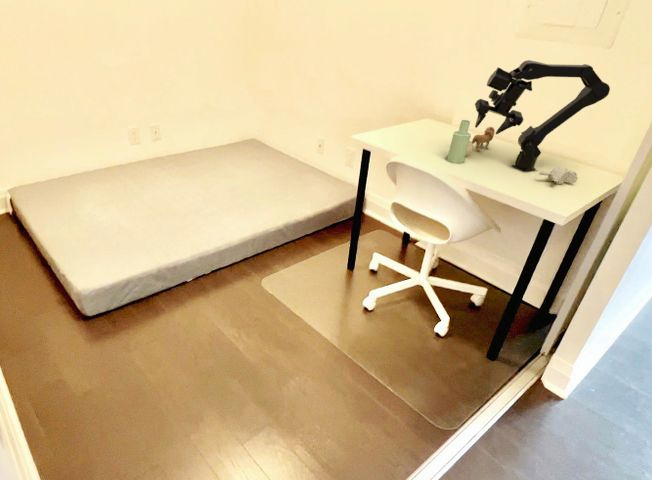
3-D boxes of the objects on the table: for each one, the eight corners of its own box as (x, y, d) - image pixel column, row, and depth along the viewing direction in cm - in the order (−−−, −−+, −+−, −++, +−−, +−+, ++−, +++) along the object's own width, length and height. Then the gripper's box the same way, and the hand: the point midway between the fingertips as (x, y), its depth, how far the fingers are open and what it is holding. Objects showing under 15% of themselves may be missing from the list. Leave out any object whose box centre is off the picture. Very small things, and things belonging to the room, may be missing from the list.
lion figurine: (482, 144, 198) (487, 124, 193) (492, 147, 195) (499, 127, 189) (464, 150, 190) (470, 129, 185) (475, 153, 187) (481, 133, 182)
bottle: (465, 163, 176) (476, 123, 167) (449, 162, 177) (459, 122, 167) (461, 157, 182) (471, 119, 173) (445, 157, 182) (455, 118, 173)
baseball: (474, 156, 184) (479, 141, 180) (462, 158, 181) (466, 143, 177) (462, 151, 189) (466, 136, 185) (450, 153, 186) (454, 138, 182)
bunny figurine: (586, 173, 160) (561, 174, 154) (579, 186, 163) (555, 187, 157) (563, 164, 167) (539, 165, 161) (557, 177, 170) (533, 178, 164)
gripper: (528, 92, 168) (502, 126, 180) (485, 77, 165) (462, 112, 178) (535, 107, 161) (507, 141, 173) (490, 92, 159) (465, 127, 171)
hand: (485, 130), depth 174 cm, fingers open, 9 cm apart
